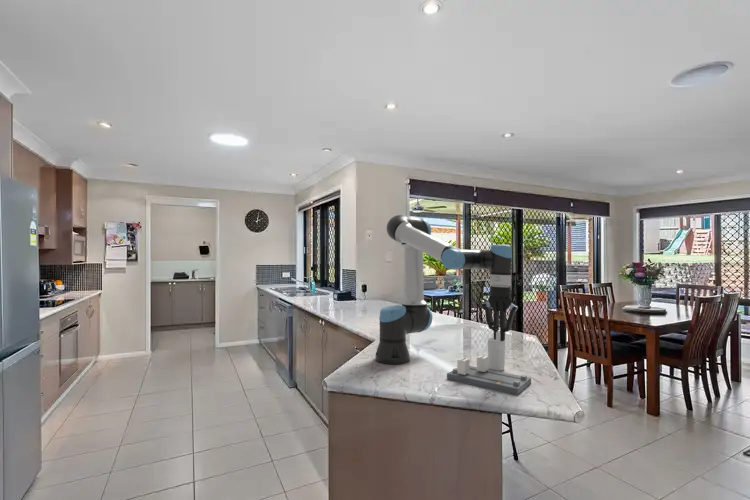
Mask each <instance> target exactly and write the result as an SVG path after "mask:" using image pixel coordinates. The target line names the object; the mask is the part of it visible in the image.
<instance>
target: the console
mask: <svg viewBox="0 0 750 500" xmlns="http://www.w3.org/2000/svg"><path fill="white" fill-rule="evenodd" d="M446 380H450V381H454V382H460V383H464V384H468V385H473V386H477V387H481V388H486V389H491V390H494V391H498V390H499V392H504V393H507V392H508V393H509V394H512V393H513V395H516V394H517V395H516V396H519V393H520V394H521V393H522V392H524V390H526V388H528V387H529V386H530V385H531V384H532V377H529V376H528V375H524V374H522V375H519V374H514V373H509V372H503V371H495V370H491V369H489V368H488V370H487V371H485V372H482V371H477V366H474V365H470V369H469V373H467V374H466V375H463V374H458V373H457V368H453V369H452V370H451V371H448V372H447V373H446Z"/></svg>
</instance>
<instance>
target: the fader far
mask: <svg viewBox="0 0 750 500" xmlns="http://www.w3.org/2000/svg"><path fill="white" fill-rule="evenodd" d="M476 367H477V371H482V372H485V371H487V370H488V369H489V368H488V355H479V356H477V357H476Z"/></svg>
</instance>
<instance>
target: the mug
mask: <svg viewBox="0 0 750 500" xmlns="http://www.w3.org/2000/svg"><path fill="white" fill-rule="evenodd" d="M505 355H506V339H505V340H504V341H502V349H501V350H496V340H494V337H488V338H487V356H488V369H489V370H494V371H499V372H503V371H504V370H505V362H506V361H505V360H506V359H505V358H506V357H505Z"/></svg>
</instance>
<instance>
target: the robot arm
mask: <svg viewBox="0 0 750 500" xmlns="http://www.w3.org/2000/svg"><path fill="white" fill-rule="evenodd" d="M386 233H387V236H388V237H389V238H391V240H394V241H396V242H397V243H399V244H401V246H402V247H403V248H404V249H403V250H404V284H405V285H404V287H405V288H404V289H405V290H404V295H405V296H404V297H405V299H404V301H403V302H402V303H401V304H399V305H398V304H397V305H388V306H384V307H382V308H381V309H380V311H379V343H378V345H377V348H376V353H375V354H374V355H375V361H376V362H377V363H381V364H385V365H401V364H407V363H408V362H410V358H411V357H410V353H409V349H408V346H407V342H406V341H407V337H406V336H407V335H408V334H414V333H421V332H424V331H426V330H428V329H430V327H431V325H432V322H433V313H432V311H431V309H430V307H428V302H427V301H425V299H424V297H425V296H424V295H425V293H424V291H425V290H424V289H425V288H424V287H425V286H424V254H426V255H428V256H429V257H432V258H433V259H435V260H437V261H439V262H441V264H442V265H443V267H444V268H445V269H450V270H454V271H456V270H489V272H490V273H489V280H490V281H489V284H490V287H489V298H488V301H486V302H483V303H482V307H483V309H484V313H485V317H486V321H487V326H488V329H489V330H491V331H493V338H494V340H496V350H501V349H502V341H504V340H505V341H506V332H509V331H511V329H512V326H513V322H514V318H515V315H516V312H517V310H518V309H519V306H518V305H515V304H514V303H513V301H512V287H511V286H512V260H513V255H512V254H513V253H512V252H513V251H512V250H513V249H512V246H511V245H510V244H491V246H490V249H474V248H473V249H468V248H467V249H465V248H459V247H456V246H454V245H452V244H451V243H448V242H446V241H444V240H442V239H440V238H438V237H435V236H433V235H432V228H431V224H430V223H429V221H428V220H427V219H425V218H424V217H420V216H418V215H417V216H414V215H413V216H411V215H402V214H397V215H395V216H394V215H393V217H391V218H390V219H389V220H388V222H387V224H386ZM491 309H493V310H491ZM508 309H510V310H509V314H508V318H507V312H508ZM492 313H493V314H492ZM499 327H500V328H499Z"/></svg>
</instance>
